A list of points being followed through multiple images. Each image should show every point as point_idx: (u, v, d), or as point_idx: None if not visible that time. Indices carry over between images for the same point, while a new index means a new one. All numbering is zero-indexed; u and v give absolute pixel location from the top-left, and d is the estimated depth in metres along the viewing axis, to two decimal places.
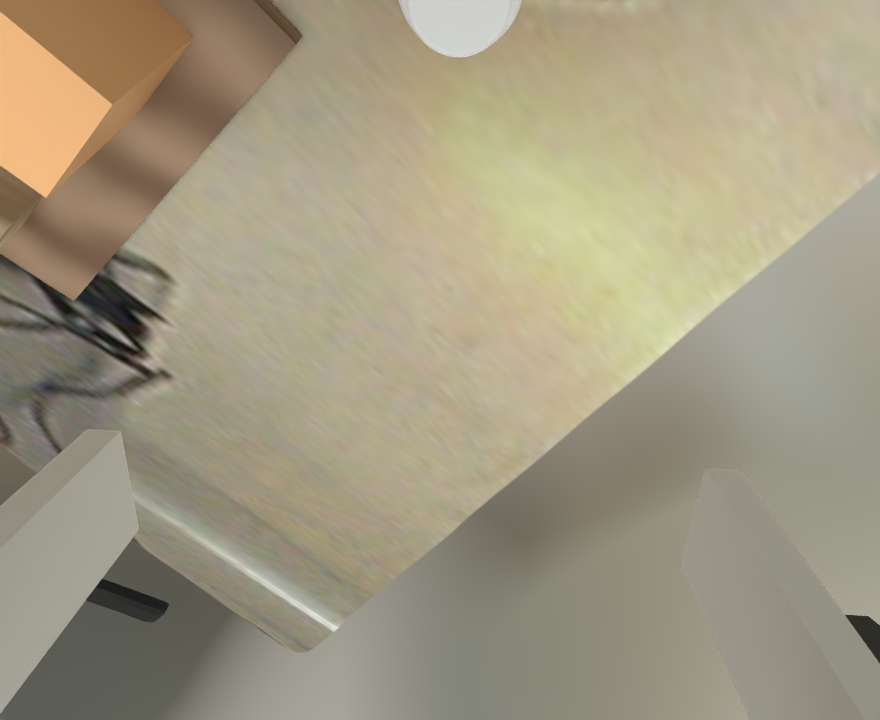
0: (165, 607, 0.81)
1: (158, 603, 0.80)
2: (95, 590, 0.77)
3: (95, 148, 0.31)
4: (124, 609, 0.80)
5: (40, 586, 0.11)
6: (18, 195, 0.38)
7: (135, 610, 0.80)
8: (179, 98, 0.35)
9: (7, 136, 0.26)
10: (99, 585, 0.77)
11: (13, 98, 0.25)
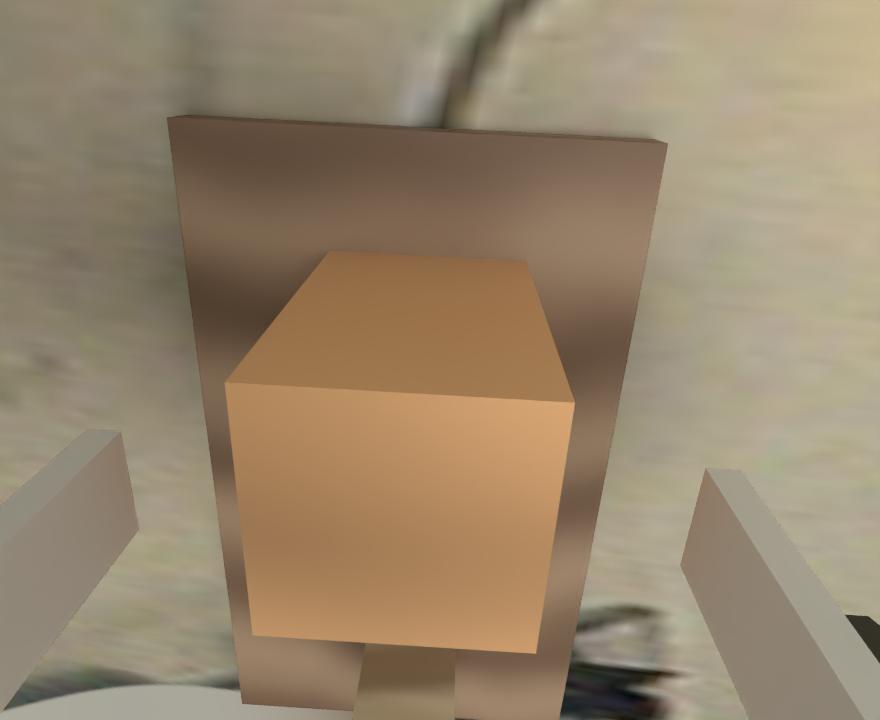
0: None
1: None
2: None
3: None
4: None
5: (40, 586, 0.11)
6: None
7: None
8: None
9: (431, 592, 0.13)
10: None
11: (411, 521, 0.12)
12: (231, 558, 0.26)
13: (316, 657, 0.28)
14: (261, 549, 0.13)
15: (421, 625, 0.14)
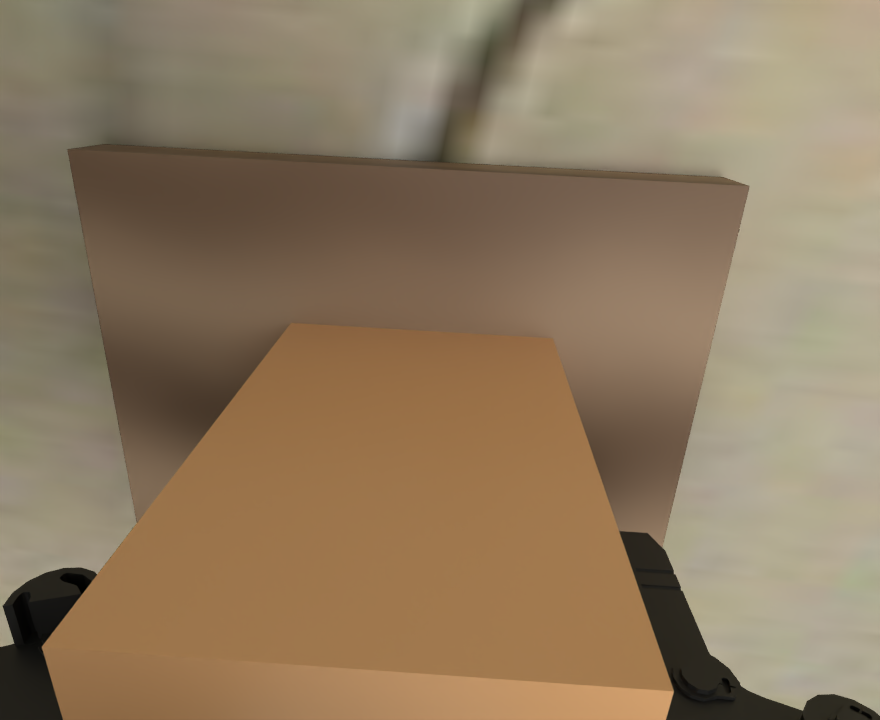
0: None
1: None
2: None
3: None
4: None
5: None
6: None
7: None
8: None
9: None
10: None
11: None
12: None
13: None
14: None
15: None
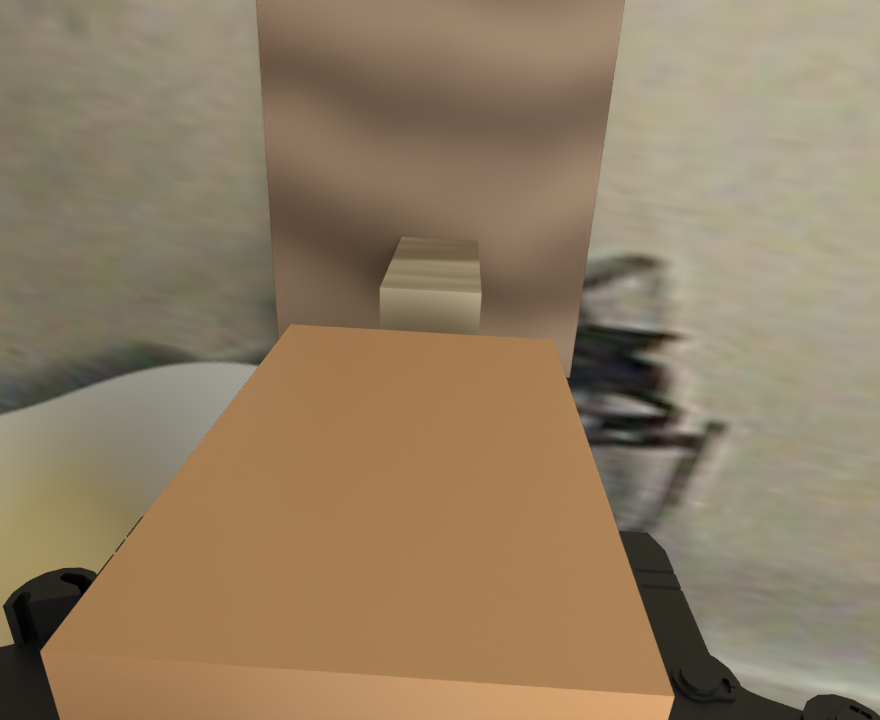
0: None
1: None
2: None
3: None
4: None
5: None
6: (459, 246, 0.28)
7: None
8: None
9: None
10: None
11: None
12: (275, 182, 0.28)
13: (349, 301, 0.30)
14: None
15: None
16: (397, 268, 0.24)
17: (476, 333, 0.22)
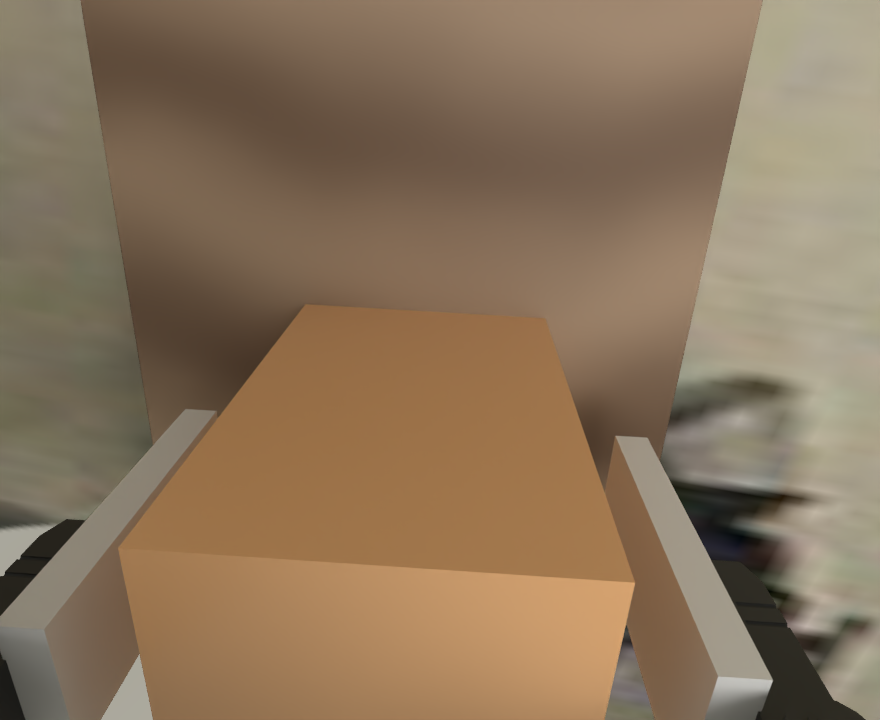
0: None
1: None
2: None
3: None
4: None
5: None
6: None
7: None
8: None
9: None
10: None
11: None
12: (136, 266, 0.16)
13: None
14: None
15: None
16: None
17: None
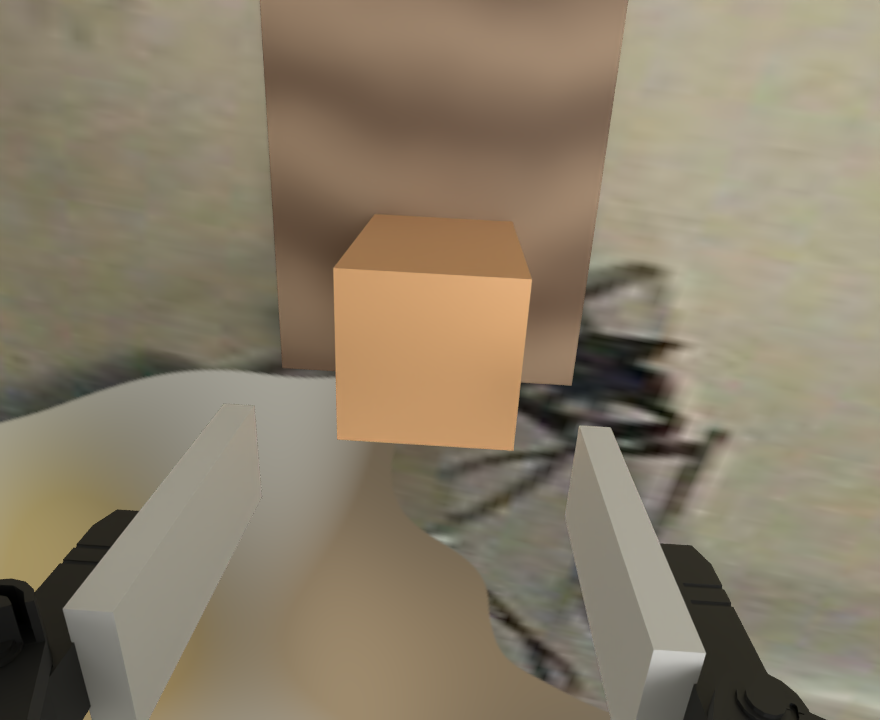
0: None
1: None
2: None
3: None
4: None
5: (208, 539, 0.13)
6: None
7: None
8: None
9: (449, 406, 0.22)
10: None
11: (437, 357, 0.21)
12: (278, 191, 0.28)
13: None
14: (347, 377, 0.21)
15: (442, 430, 0.22)
16: None
17: None
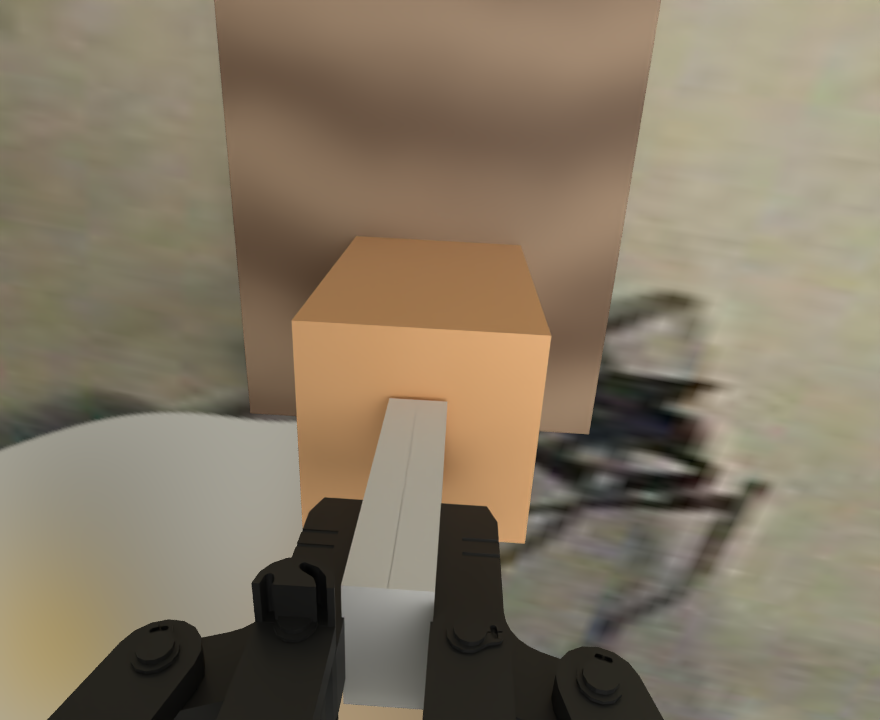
0: None
1: None
2: None
3: None
4: None
5: None
6: None
7: None
8: None
9: (443, 491, 0.17)
10: None
11: None
12: (241, 209, 0.24)
13: None
14: (313, 455, 0.17)
15: None
16: None
17: None
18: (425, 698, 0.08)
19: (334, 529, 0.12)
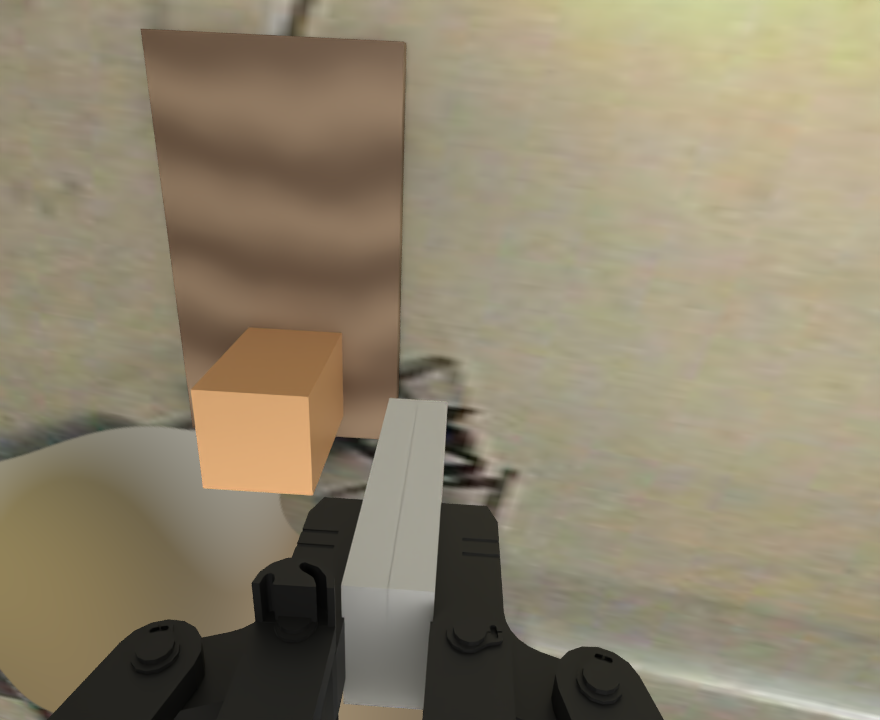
0: None
1: None
2: None
3: (325, 444, 0.39)
4: None
5: None
6: None
7: None
8: (358, 172, 0.38)
9: (269, 469, 0.35)
10: None
11: (258, 440, 0.34)
12: (182, 312, 0.42)
13: None
14: (205, 451, 0.35)
15: (267, 482, 0.35)
16: None
17: None
18: (425, 698, 0.08)
19: (334, 529, 0.12)
